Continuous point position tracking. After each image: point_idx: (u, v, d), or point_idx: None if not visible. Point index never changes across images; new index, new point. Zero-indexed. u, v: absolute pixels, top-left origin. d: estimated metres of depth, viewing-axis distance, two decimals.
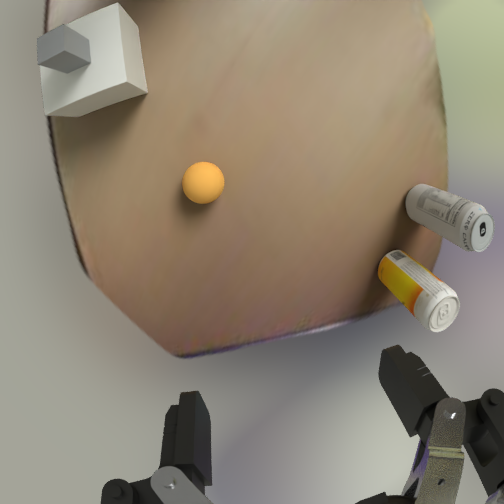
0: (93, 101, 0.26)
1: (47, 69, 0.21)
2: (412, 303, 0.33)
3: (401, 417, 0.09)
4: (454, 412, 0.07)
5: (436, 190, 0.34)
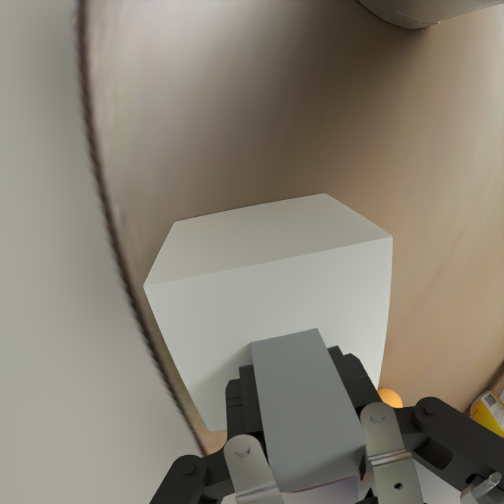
0: None
1: (200, 370, 0.13)
2: None
3: None
4: (382, 416, 0.08)
5: None
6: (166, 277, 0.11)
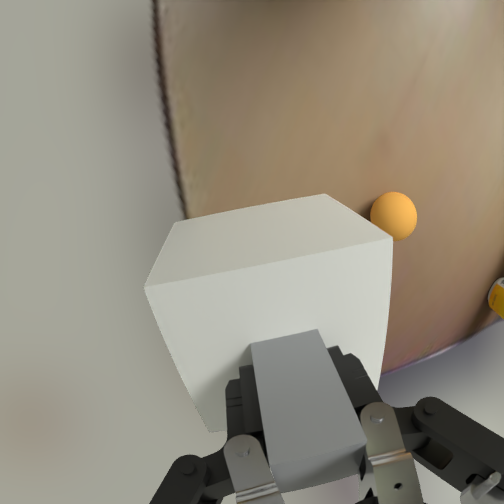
0: None
1: (200, 371, 0.13)
2: None
3: None
4: (382, 416, 0.08)
5: None
6: (166, 278, 0.11)
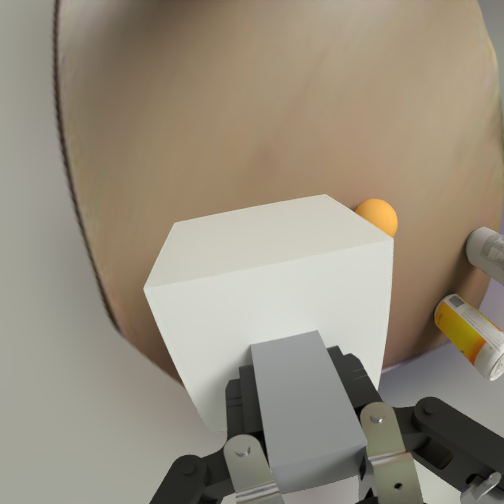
0: None
1: (201, 372, 0.13)
2: (474, 354, 0.28)
3: None
4: (382, 416, 0.08)
5: (500, 237, 0.29)
6: (166, 280, 0.11)
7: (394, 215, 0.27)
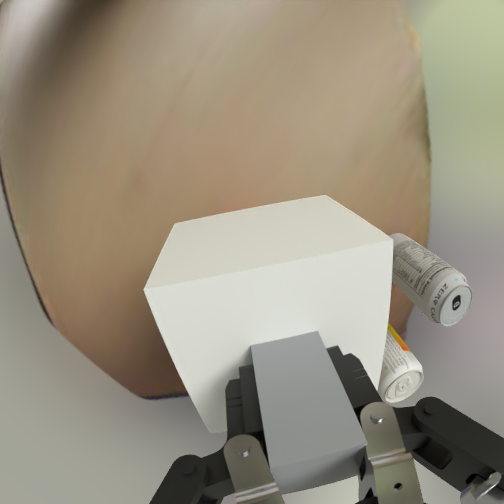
0: None
1: (201, 373, 0.13)
2: None
3: None
4: (382, 416, 0.08)
5: (410, 246, 0.32)
6: (167, 280, 0.11)
7: None
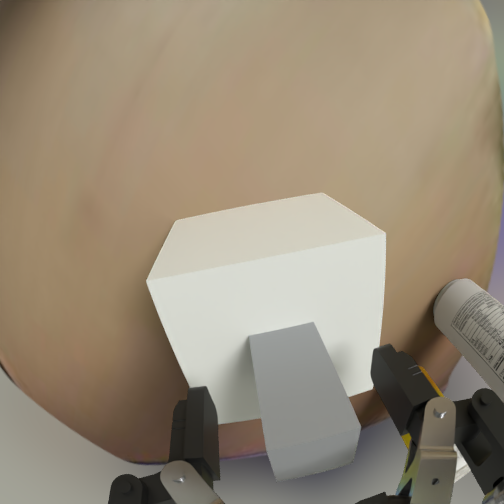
0: None
1: (201, 363, 0.13)
2: None
3: (392, 416, 0.10)
4: (444, 411, 0.07)
5: (485, 302, 0.19)
6: (168, 272, 0.12)
7: None
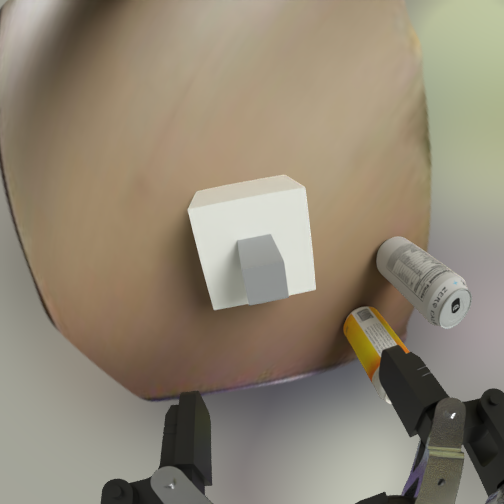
0: None
1: (211, 258, 0.26)
2: (371, 373, 0.31)
3: (401, 417, 0.09)
4: (454, 412, 0.07)
5: (410, 249, 0.32)
6: (198, 206, 0.25)
7: None
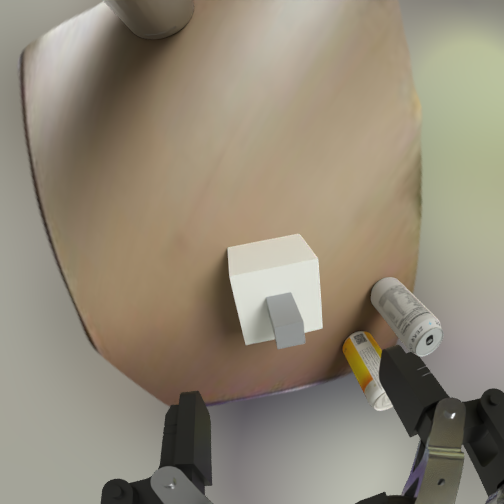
0: None
1: (246, 310, 0.35)
2: (363, 387, 0.40)
3: (401, 417, 0.09)
4: (454, 412, 0.07)
5: (398, 291, 0.41)
6: (237, 273, 0.33)
7: None
